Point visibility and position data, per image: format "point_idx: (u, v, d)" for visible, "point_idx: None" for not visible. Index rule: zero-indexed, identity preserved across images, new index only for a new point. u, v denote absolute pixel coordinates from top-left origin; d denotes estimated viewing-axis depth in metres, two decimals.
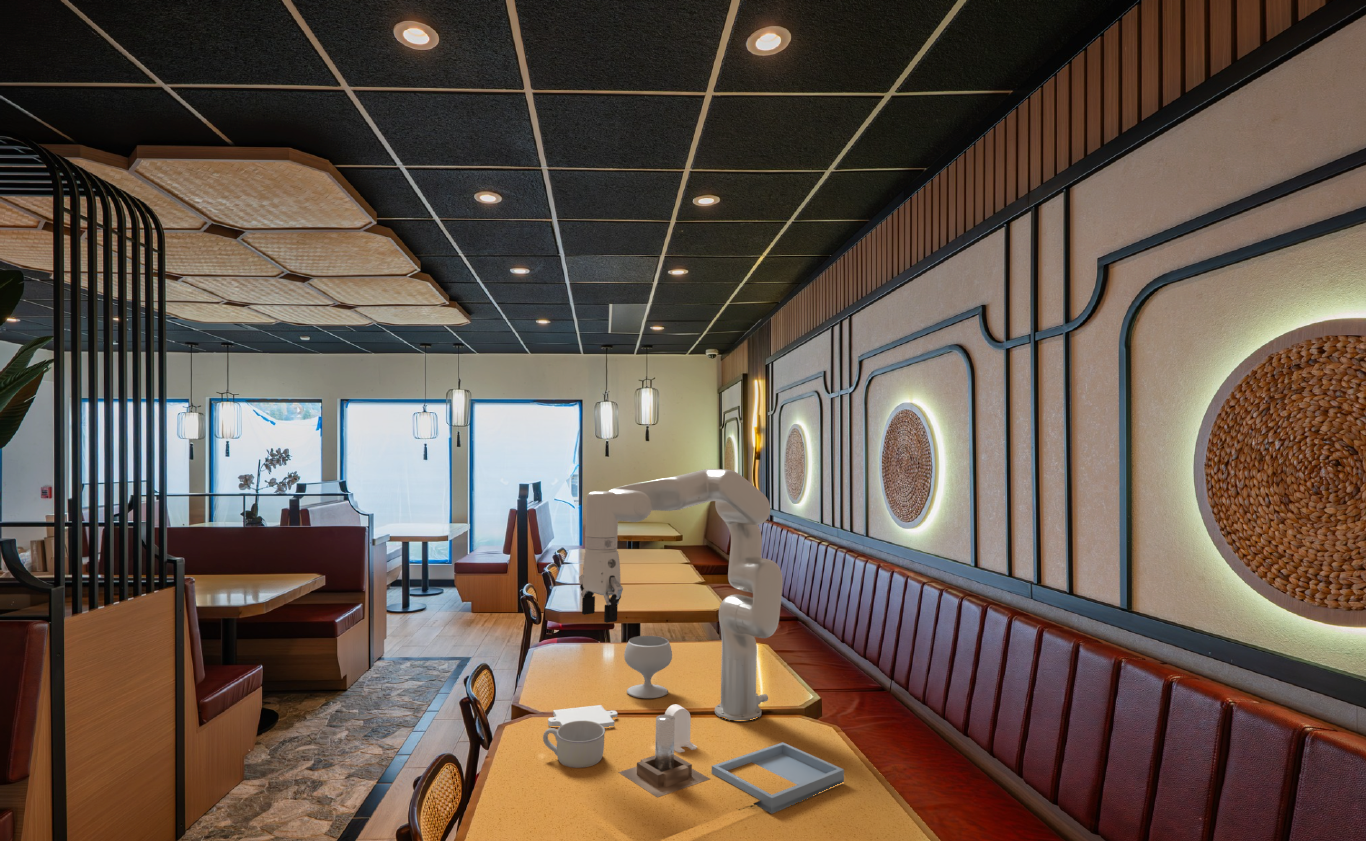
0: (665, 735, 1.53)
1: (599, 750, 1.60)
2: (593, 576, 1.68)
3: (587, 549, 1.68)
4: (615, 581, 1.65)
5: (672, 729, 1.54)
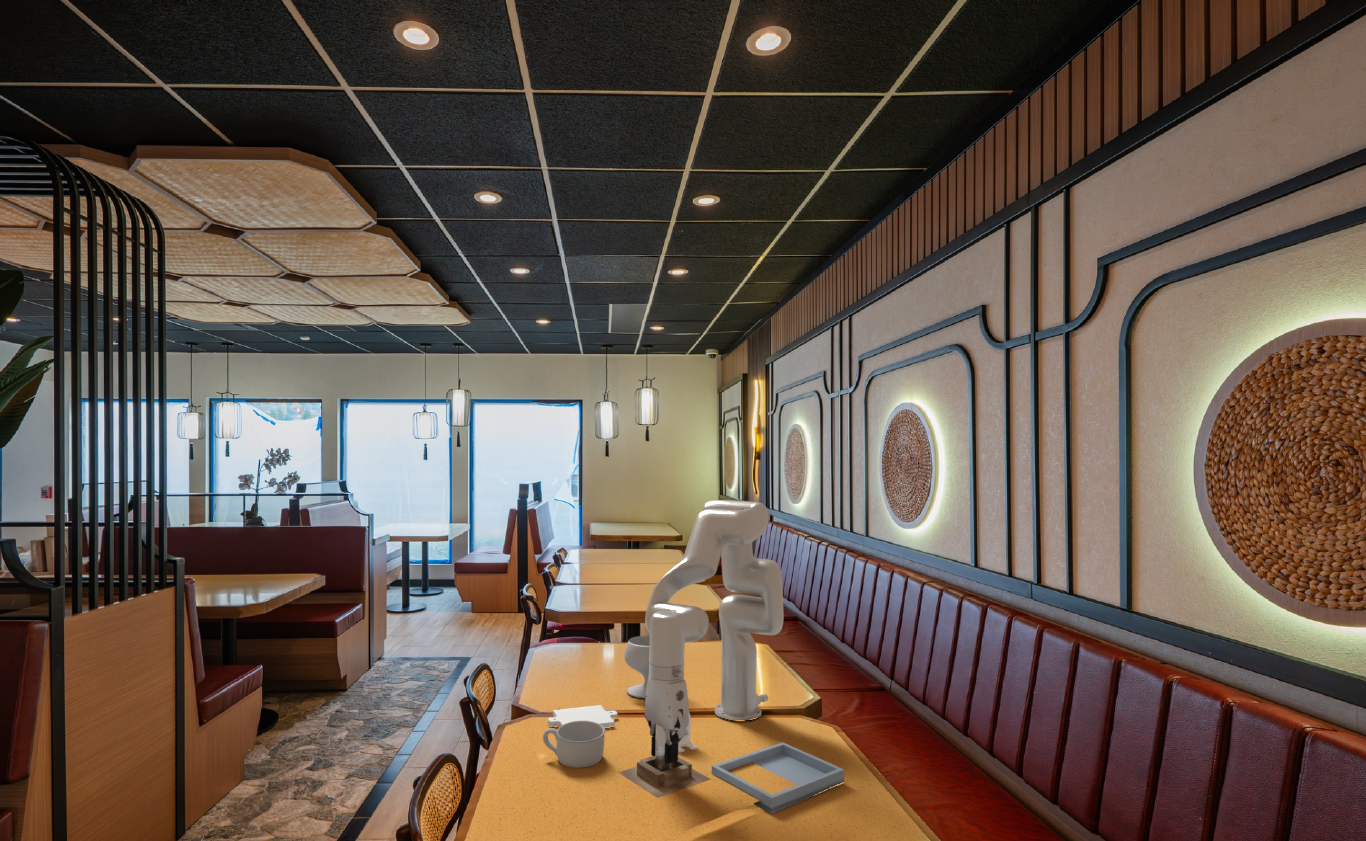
0: (665, 735, 1.53)
1: (599, 750, 1.60)
2: (659, 708, 1.53)
3: (652, 678, 1.53)
4: (681, 722, 1.50)
5: None
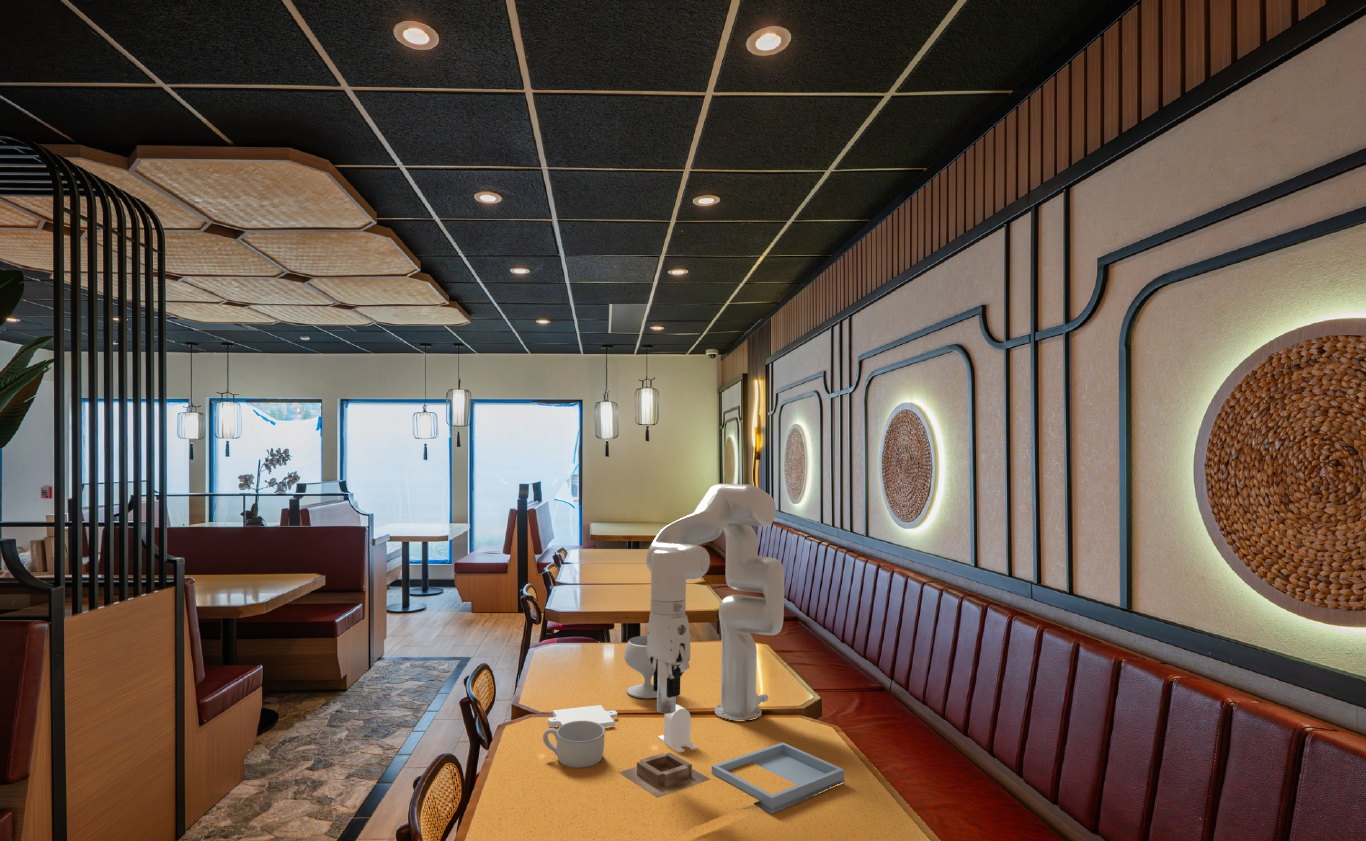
0: (667, 669, 1.54)
1: (599, 750, 1.60)
2: (660, 643, 1.54)
3: (654, 614, 1.54)
4: (683, 656, 1.51)
5: None
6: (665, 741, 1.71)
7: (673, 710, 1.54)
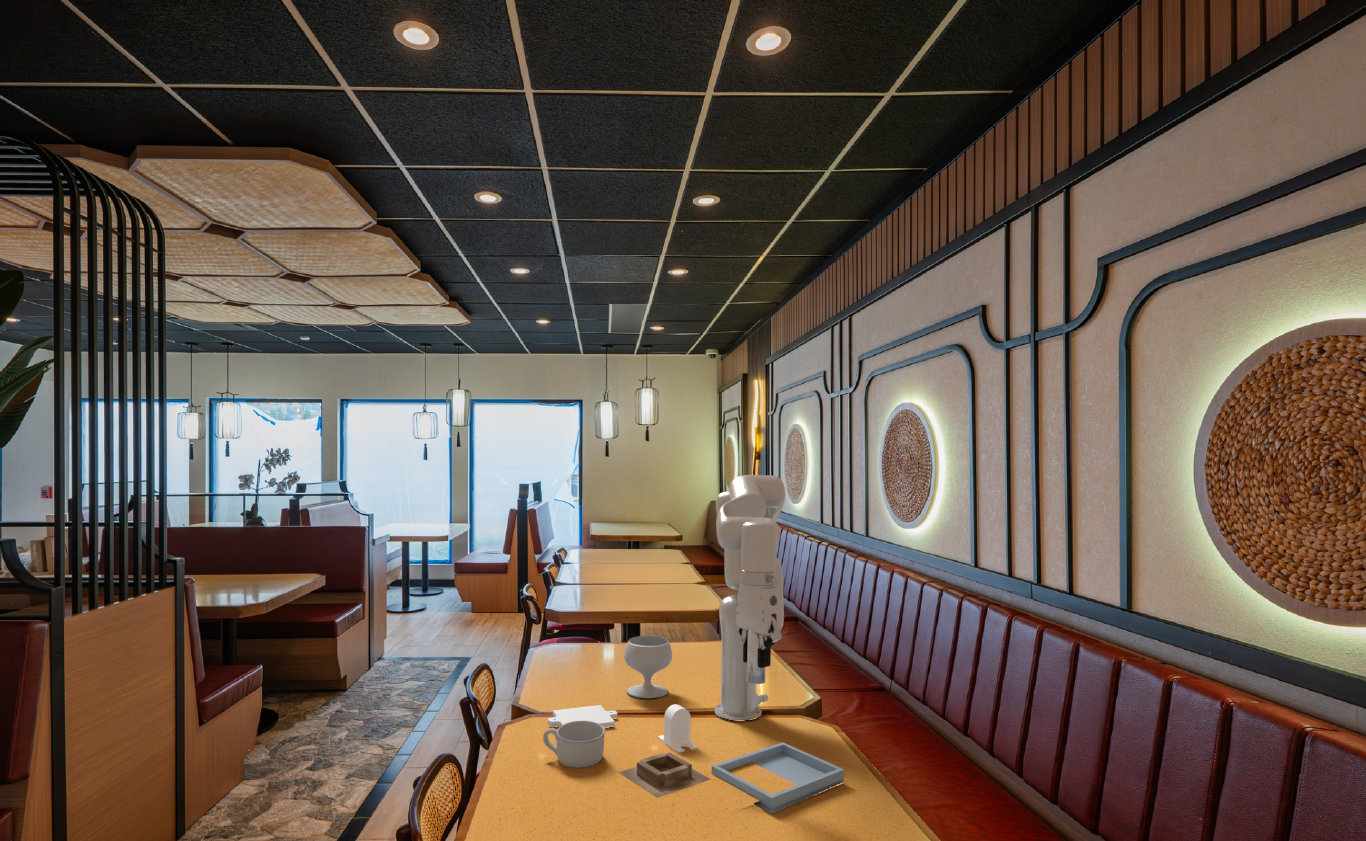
0: (758, 640, 1.55)
1: (599, 750, 1.60)
2: (752, 614, 1.55)
3: (745, 584, 1.55)
4: (775, 626, 1.52)
5: None
6: (665, 741, 1.71)
7: (763, 681, 1.55)
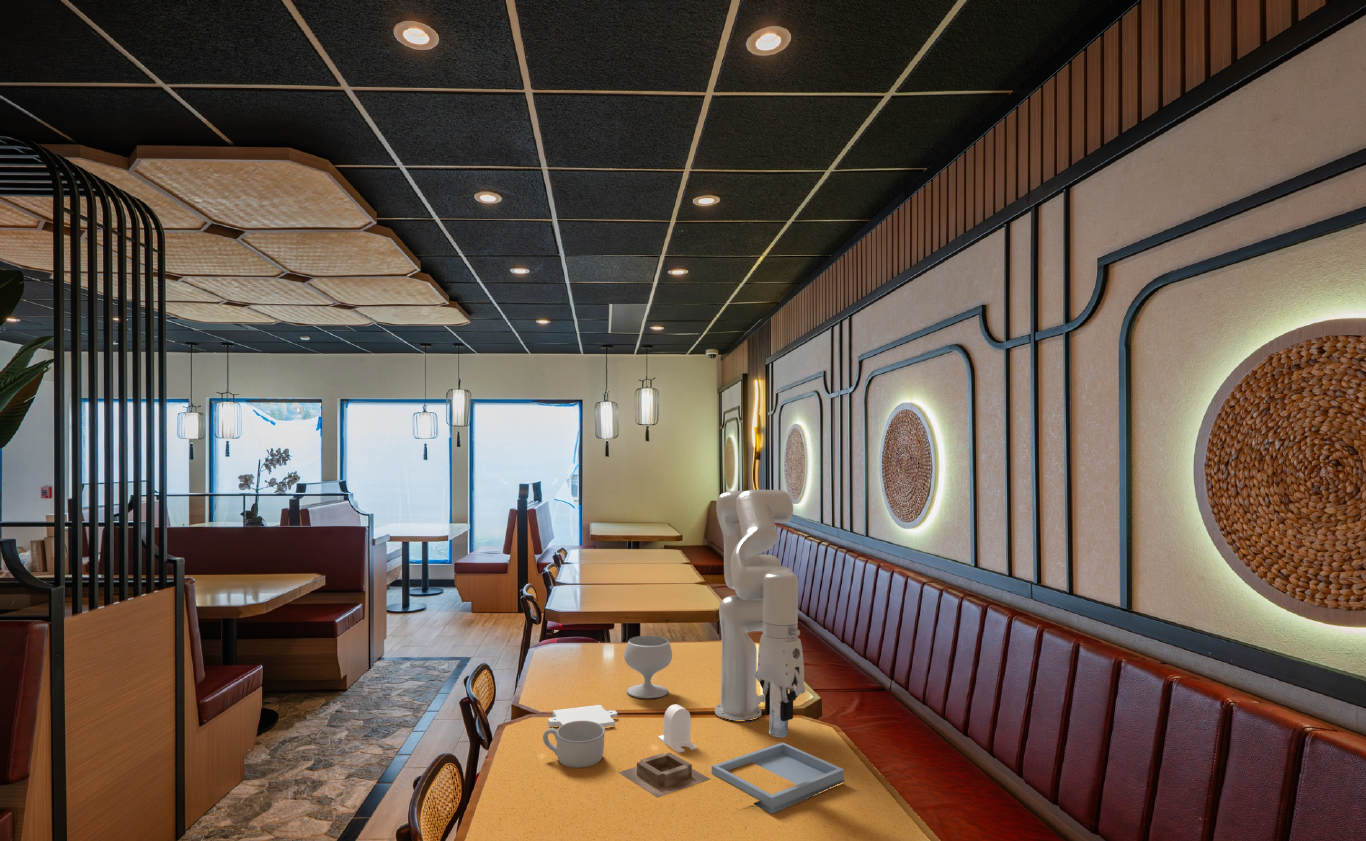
0: (781, 693, 1.54)
1: (599, 750, 1.60)
2: (774, 666, 1.55)
3: (767, 637, 1.55)
4: (799, 679, 1.52)
5: None
6: (665, 741, 1.71)
7: (786, 734, 1.55)
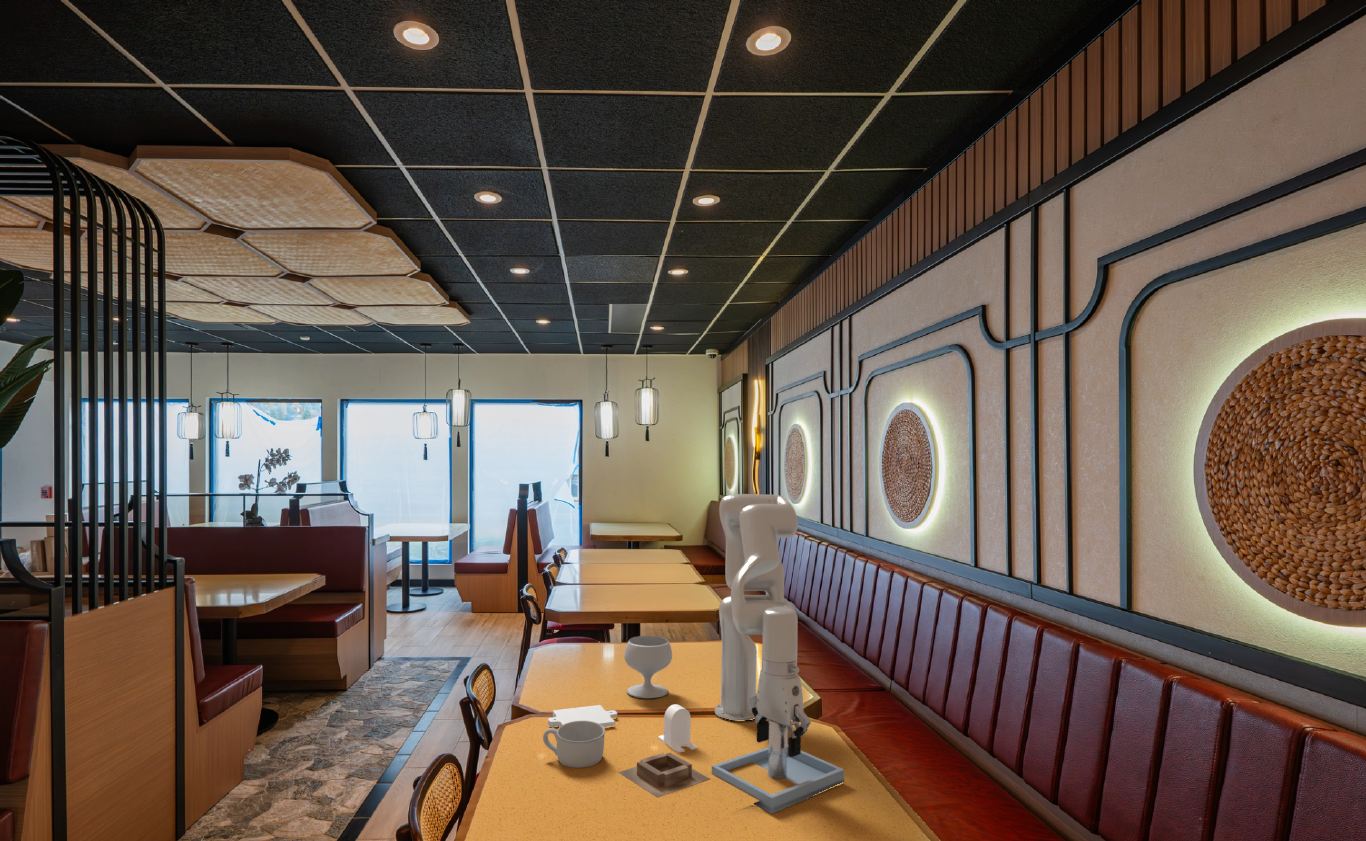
0: (780, 737, 1.54)
1: (599, 750, 1.60)
2: (773, 703, 1.54)
3: (767, 674, 1.54)
4: (801, 712, 1.51)
5: (786, 731, 1.55)
6: (665, 741, 1.71)
7: (785, 777, 1.55)
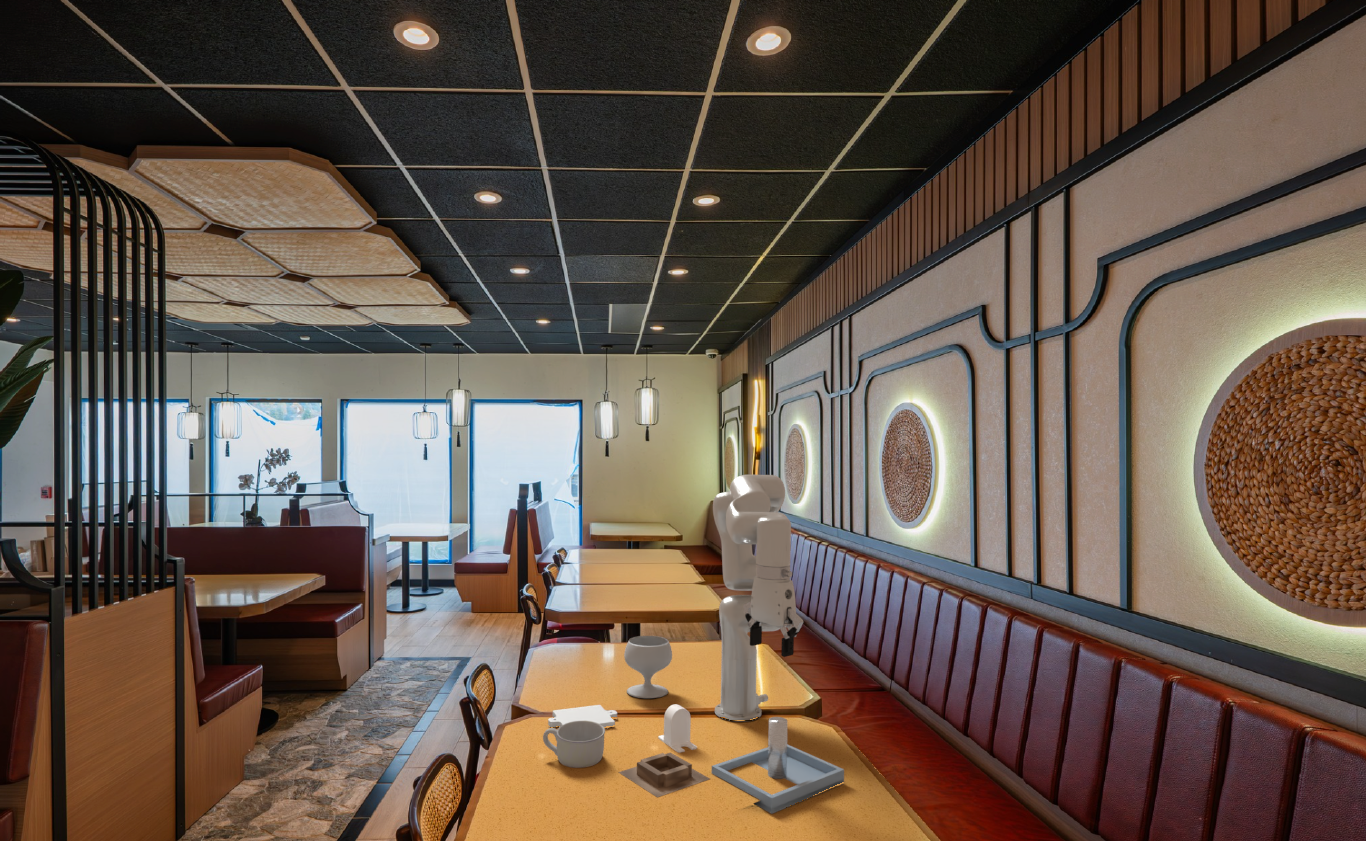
0: (779, 737, 1.54)
1: (599, 750, 1.60)
2: (767, 607, 1.59)
3: (761, 578, 1.59)
4: (794, 613, 1.56)
5: (786, 731, 1.55)
6: (665, 741, 1.71)
7: (785, 777, 1.55)
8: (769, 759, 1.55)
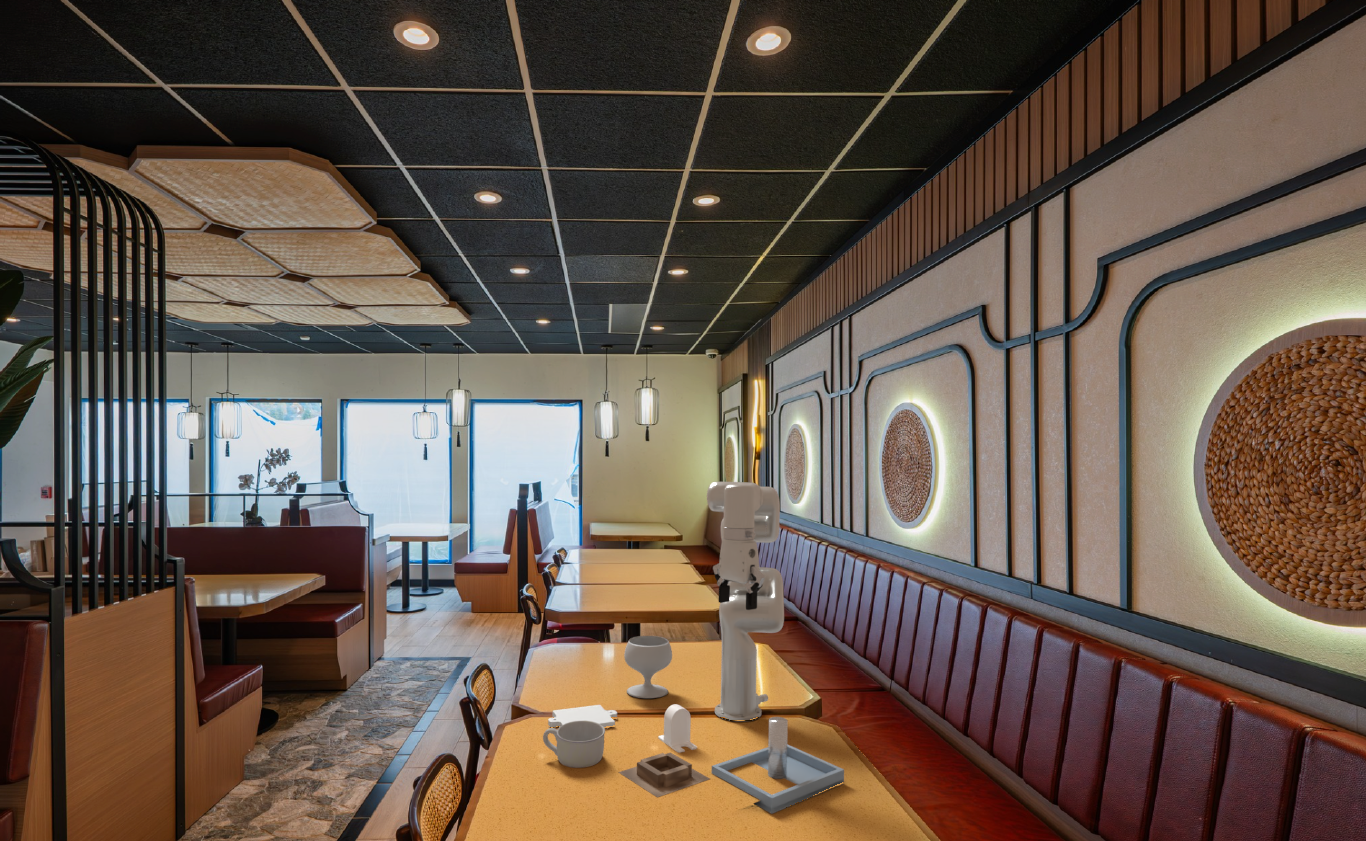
0: (780, 737, 1.54)
1: (599, 750, 1.60)
2: (733, 565, 1.75)
3: (727, 539, 1.75)
4: (756, 570, 1.72)
5: (786, 731, 1.55)
6: (665, 741, 1.71)
7: (785, 777, 1.55)
8: (769, 759, 1.55)
